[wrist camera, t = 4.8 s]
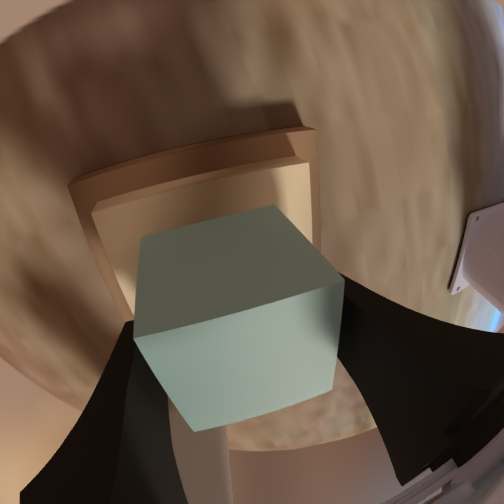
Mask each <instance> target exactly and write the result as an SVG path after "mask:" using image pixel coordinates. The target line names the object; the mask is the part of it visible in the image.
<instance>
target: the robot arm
mask: <svg viewBox="0 0 504 504" xmlns="http://www.w3.org/2000/svg"><path fill="white" fill-rule="evenodd" d="M338 273H339V272H338ZM339 274H340V273H339ZM340 275H341V276H342V277H343V278H344V280H345V284H344V296H343V307H342V317H341V326H340V335H339V343H338V351H337V357H338V358H339V360H340V361H341V363H342V364H343V366H344V367H345V369H346V370H347V372H348V373H349V375H350V376H351V378H352V379H353V381H354V382H355V384H356V385H357V387H358V389H359V390H360V392H361V394H362V396H363V398H364V400H365V402H366V404H367V406H368V408H369V410H370V412H371V414H372V416H373V418H374V421H375V423H376V425H377V427H378V429H379V432H380V434H381V436H382V439H383V441H384V443H385V446H386V448H387V451H388V454H389V457H390V459H391V462H392V465H393V467H394V471H395V474H396V477H397V479H398V481H399V483H400V484H401V486H404V485H405V484H407V483H408V482H410V481H412V480H413V479H415V478H416V477H418V476H420V475H421V474H423V473H424V472H426V471H427V470H428V469H431V470H432V473H431V474H430V475H428V476H427V477H425V478H424V479H422V480H421V481H419V482H418V483H416V484H414V485H413V486H411V487H410V488H408V489H406V490H405V491H403V492H401V493H400V494H398V495H396V496H395V497H393V498H391V499H390V500H388V501H386V502H384V503H382V504H417V503H419V502H420V501H422V500H423V499H425V498H426V497H428V496H429V495H431V494H432V493H434V492H435V491H436V490H438V489H439V488H440V487H442V486H443V487H442V492H441V493H440V494H438V495H436V496H434V497H433V498H431V499H429V500H427V501H426V502H424V503H423V504H504V334H503V333H493V332H486V331H481V330H475V329H470V328H466V327H462V326H458V325H454V324H451V323H447V322H444V321H440V320H437V319H434V318H431V317H429V316H426V315H423V314H421V313H418V312H415V311H413V310H411V309H408V308H406V307H404V306H402V305H400V304H397V303H395V302H393V301H391V300H389V299H387V298H385V297H383V296H381V295H379V294H377V293H375V292H373V291H371V290H370V289H368V288H366V287H364V286H362V285H360V284H359V283H357V282H355V281H353V280H351V279H349V278H348V277H346V276H344V275H342V274H340ZM469 285H471V286H472V287H473V288H474V289H476V290H477V291H478V292H479V293H480V294H481V295H482V296H484V297H485V298H486V299H487V300H488V301H489V302H490V303H491V304H493V305H494V306H495V307H496V308H497V309H498V310H499V311H500V312H501V313H502V314H503V315H504V202H503V203H500V204H497V205H494V206H491V207H488V208H485V209H482V210H479V211H476V212H473V213H471V214H470V215H469V217H468V221H467V226H466V230H465V235H464V239H463V243H462V247H461V251H460V255H459V259H458V262H457V266H456V269H455V273H454V276H453V279H452V283H451V286H450V289H449V293H450V294H451V295H454V294H455V293H457V292H459V291H461V290H462V289H464V288H466V287H468V286H469ZM133 332H134V320H131V321H127V322H126V323H125V324H124V327H123V329H122V331H121V333H120V335H119V338H118V340H117V342H116V345H115V347H114V349H113V351H112V354H111V356H110V358H109V360H108V362H107V365H106V367H105V369H104V371H103V374H102V376H101V378H100V380H99V382H98V384H97V386H96V388H95V390H94V392H93V394H92V396H91V398H90V400H89V402H88V403H87V405H86V407H85V409H84V411H83V412H82V414H81V416H80V417H79V419H78V421H77V422H76V424H75V426H74V427H73V429H72V430H71V431H70V433H69V435H68V436H67V437H66V439H65V440H64V442H63V444H62V445H61V446H60V448H59V449H58V450H57V451H56V453H55V454H54V456H53V457H52V458H51V459H50V460H49V462H48V463H47V464H46V465H45V467H44V468H43V469H42V470H41V471H40V472H39V473H38V475H36V477H35V478H34V479H33V480H32V481H31V482H30V483H29V484H28V485H27V486H26V487H25V488H24V489H23V490H22V491H21V492H20V504H189V503H188V501H187V498H186V495H185V492H184V488H183V485H182V482H181V478H180V475H179V471H178V467H177V463H176V459H175V455H174V451H173V445H172V439H171V430H170V419H169V406H168V395H167V393H166V392H165V390H164V389H163V387H162V385H161V384H160V382H159V381H158V379H157V378H156V376H155V374H154V373H153V371H152V370H151V368H150V366H149V365H148V363H147V361H146V360H145V358H144V356H143V355H142V353H141V351H140V350H139V348H138V346H137V344H136V343H135V341H134V339H133Z"/></svg>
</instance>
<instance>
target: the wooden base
mask: <svg viewBox="0 0 504 504" xmlns="http://www.w3.org/2000/svg"><path fill="white" fill-rule="evenodd" d="M68 187H69V191H70V194H71V197H72V200H73V203H74V206H75V208H76V211H77V214H78V217H79V220H80V222H81V225H82V228H83V230H84V233H85V236H86V238H87V241H88V243H89V246H90V248H91V251H92V253H93V255H94V258H95V260H96V262H97V265H98V267H99V269H100V272H101V274H102V276H103V278H104V281H105V283H106V285H107V287H108V289H109V291H110V293H111V295H112V297H113V300H114V302H115V304H116V306H117V308H118V310H119V312H120V314H121V316H122V317H123V319H124V321H125V323H126V322H127V321H131V320H134V311H135V296H136V283H137V272H138V262H139V252H140V244H141V237H145V236H148V235H152V234H156V233H160V232H163V231H167V230H171V229H175V228H179V227H183V226H187V225H191V224H195V223H199V222H203V221H207V220H211V219H215V218H219V217H223V216H227V215H231V214H236V213H240V212H244V211H249V210H253V209H257V208H262V207H266V206H271V205H275V206H276V207H277V208H278V209H279V210H280V211H281V212H282V213H283V214H284V215H285V216H286V217H287V218H288V219H289V220H290V221H291V222H292V223H293V224H294V225H295V226H296V227H297V229H298V230H299V231H300V232H301V233H302V234H303V235H304V236H305V237H306V238H307V239H308V240H309V241H310V242H311V243H312V244H313V246H314V247H315V248H316V249H317V250H318V251H319V252H320V253H321V225H320V186H319V163H318V145H317V130H316V129H313V128H309V127H306V126H300V127H291V128H283V129H276V130H268V131H262V132H255V133H249V134H243V135H237V136H231V137H226V138H221V139H216V140H210V141H206V142H201V143H196V144H192V145H187V146H183V147H178V148H174V149H170V150H166V151H162V152H158V153H154V154H150V155H147V156H143V157H139V158H136V159H132V160H129V161H125V162H122V163H119V164H115V165H112V166H109V167H106V168H102V169H99V170H96V171H93V172H90V173H87V174H84V175H81V176H79V177H76V178H75V179H74V180H73V181H72V182H71V183H70V184H69V185H68Z"/></svg>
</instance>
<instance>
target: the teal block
mask: <svg viewBox="0 0 504 504" xmlns="http://www.w3.org/2000/svg"><path fill="white" fill-rule="evenodd" d="M344 284H345V280H344V278H343V277H342V276H341V275H340V274H339V273H338V272H337V271H336V270H335V268H334V267H333V266H332V265H331V264H330V263H329V262H328V261H327V260H326V259H325V257H324V256H323V255H322V254H321V253H320V252H319V251H318V250H317V249H316V248H315V247H314V246H313V244H312V243H311V242H310V241H309V240H308V239H307V238H306V237H305V236H304V235H303V234H302V233H301V232H300V231H299V230H298V229H297V227H296V226H295V225H294V224H293V223H292V222H291V221H290V220H289V219H288V218H287V217H286V216H285V215H284V214H283V213H282V212H281V211H280V210H279V209H278V208H277V207H276V206H275V205H271V206H266V207H262V208H257V209H253V210H249V211H244V212H240V213H236V214H231V215H227V216H223V217H219V218H215V219H211V220H207V221H203V222H199V223H195V224H191V225H187V226H183V227H179V228H175V229H171V230H167V231H163V232H160V233H156V234H152V235H148V236H145V237H141V244H140V252H139V262H138V272H137V283H136V296H135V311H134V332H133V339H134V341H135V343H136V344H137V346H138V348H139V350H140V351H141V353H142V355H143V356H144V358H145V360H146V361H147V363H148V365H149V366H150V368H151V370H152V371H153V373H154V374H155V376H156V378H157V379H158V381H159V382H160V384H161V385H162V387H163V389H164V390H165V392H166V393H167V395H168V396H169V398H170V399H171V401H172V402H173V404H174V405H175V406H176V408H177V409H178V411H179V412H180V414H181V415H182V416H183V418H184V419H185V421H186V422H187V423H188V425H189V426H190V427H191V429H192V430H193V431H194V432H196V431H201V430H206V429H210V428H214V427H219V426H223V425H227V424H231V423H235V422H238V421H242V420H246V419H249V418H253V417H256V416H260V415H263V414H266V413H269V412H273V411H276V410H279V409H282V408H285V407H288V406H291V405H294V404H296V403H299V402H302V401H305V400H307V399H310V398H313V397H315V396H318V395H321V394H323V393H326V392H328V391H331V390H332V385H333V379H334V372H335V366H336V359H337V351H338V343H339V335H340V326H341V317H342V307H343V296H344Z"/></svg>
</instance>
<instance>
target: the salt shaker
mask: <svg viewBox="0 0 504 504" xmlns="http://www.w3.org/2000/svg"><path fill="white" fill-rule="evenodd" d="M168 406H169V419H170V430H171V439H172V445H173V451H174V455H175V459H176V463H177V467H178V471H179V475H180V478H181V482H182V485H183V488H184V492H185V495H186V498H187V501H188V503H189V504H233V498H232V487H231V477H230V466H229V456H228V455H229V454H228V441H227V428H226V425H223V426H219V427H214V428H210V429H206V430H201V431H196V432H194V431H193V430H192V429H191V427H190V426H189V425H188V423H187V422H186V421H185V419H184V418H183V416H182V415H181V414H180V412H179V411H178V409H177V408H176V406H175V405H174V404H173V402H172V401H171V399H170V398H169V396H168Z"/></svg>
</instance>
